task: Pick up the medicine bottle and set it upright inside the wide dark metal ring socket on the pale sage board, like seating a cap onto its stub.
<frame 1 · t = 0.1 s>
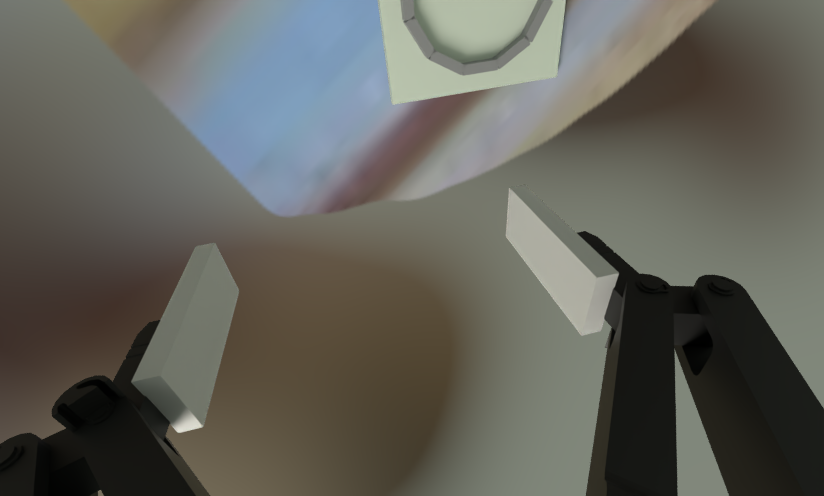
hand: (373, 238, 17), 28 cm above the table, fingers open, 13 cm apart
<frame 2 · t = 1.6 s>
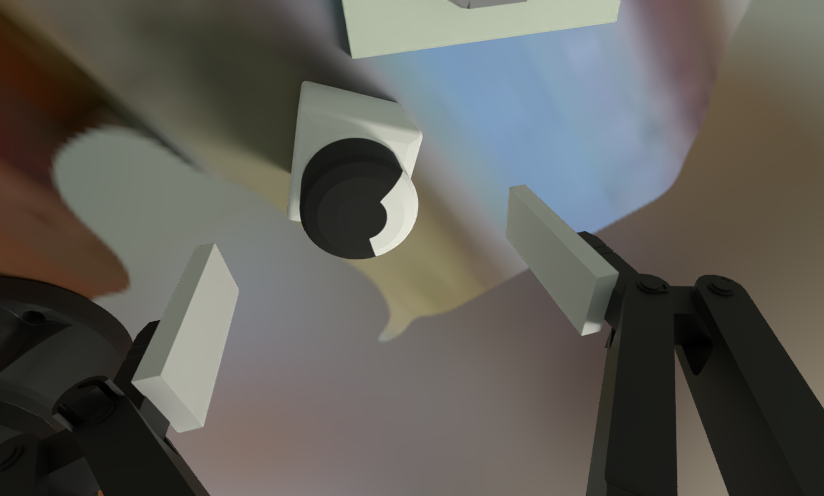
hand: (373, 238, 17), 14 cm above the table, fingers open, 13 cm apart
medicine bottle: (345, 139, 28), on the table
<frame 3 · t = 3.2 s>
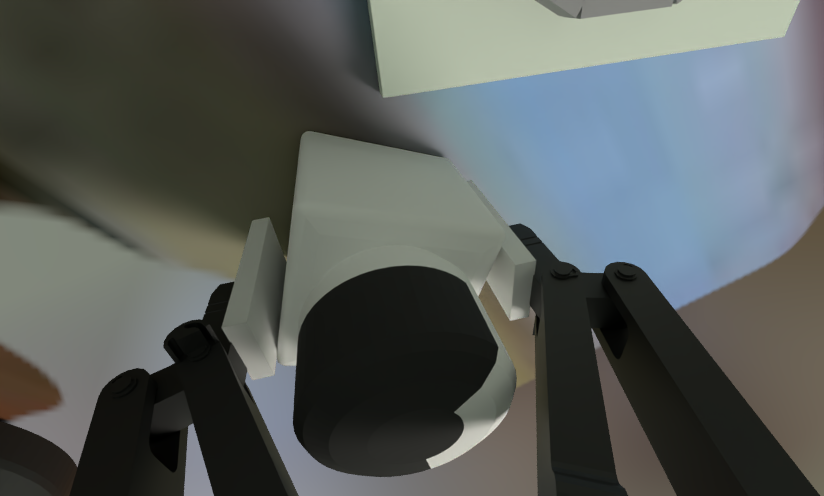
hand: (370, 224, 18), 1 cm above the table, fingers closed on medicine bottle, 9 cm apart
medicine bottle: (366, 208, 19), on the table, touching gripper
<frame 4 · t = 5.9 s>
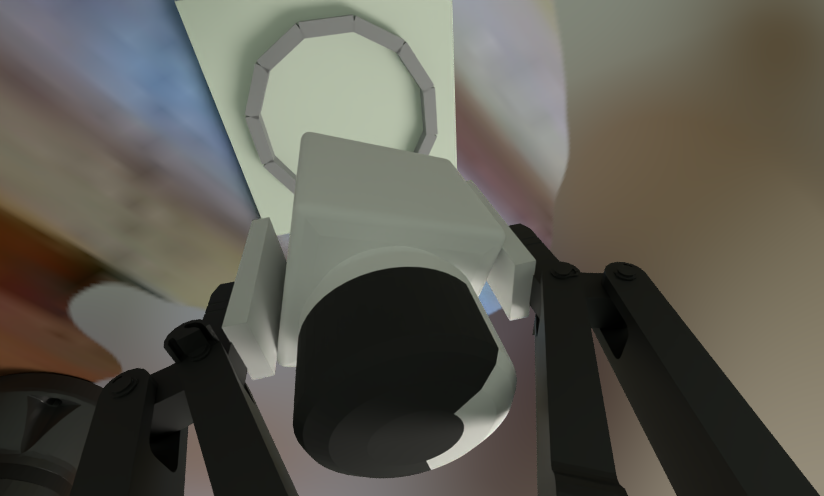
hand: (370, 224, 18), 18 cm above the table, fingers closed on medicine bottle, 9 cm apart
medicine bottle: (366, 208, 19), point 16 cm above the table, touching gripper
socket board: (345, 118, 32), on the table
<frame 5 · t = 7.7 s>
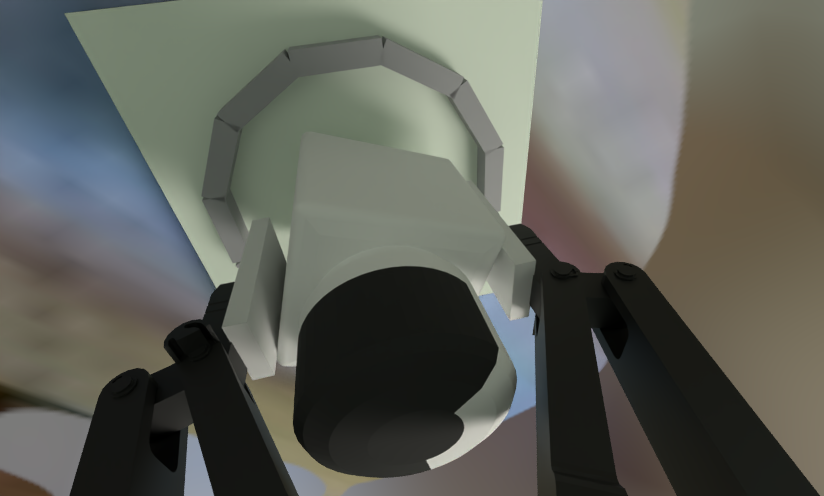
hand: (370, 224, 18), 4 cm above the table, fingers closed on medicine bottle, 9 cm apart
medicine bottle: (366, 208, 19), point 2 cm above the table, touching gripper
socket board: (362, 188, 21), on the table
when the fingers open (4 cm above the table, at t = 8.9 s): medicine bottle drops 1 cm, resting on socket board.
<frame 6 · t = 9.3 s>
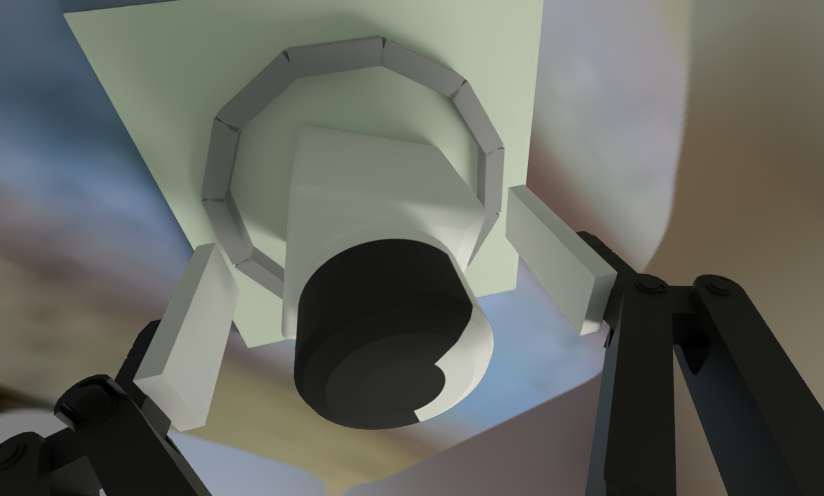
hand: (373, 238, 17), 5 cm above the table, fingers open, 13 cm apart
medicine bottle: (362, 196, 20), point 1 cm above the table, touching socket board
socket board: (362, 189, 21), on the table
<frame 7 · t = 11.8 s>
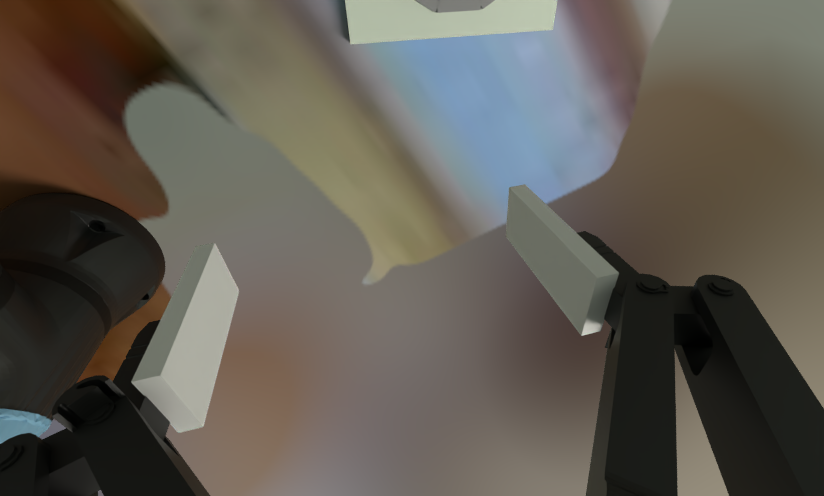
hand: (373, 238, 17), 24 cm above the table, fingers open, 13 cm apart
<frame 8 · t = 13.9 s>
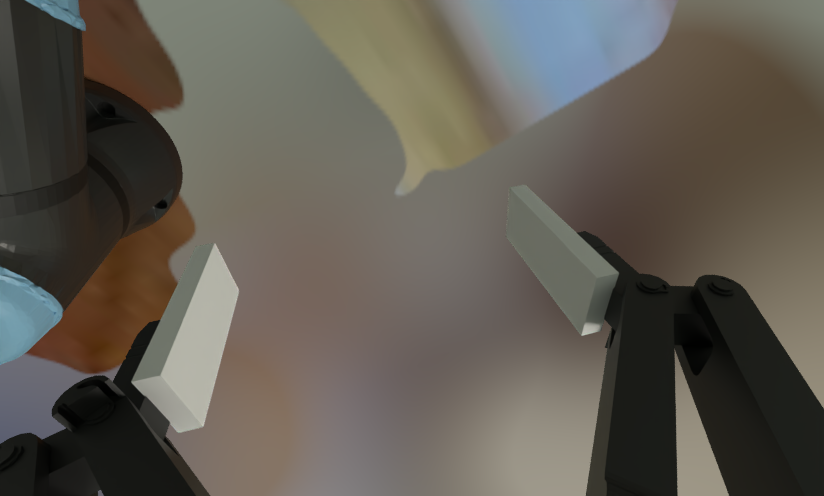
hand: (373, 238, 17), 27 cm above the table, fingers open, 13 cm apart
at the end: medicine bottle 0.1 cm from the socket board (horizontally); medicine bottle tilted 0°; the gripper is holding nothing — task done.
